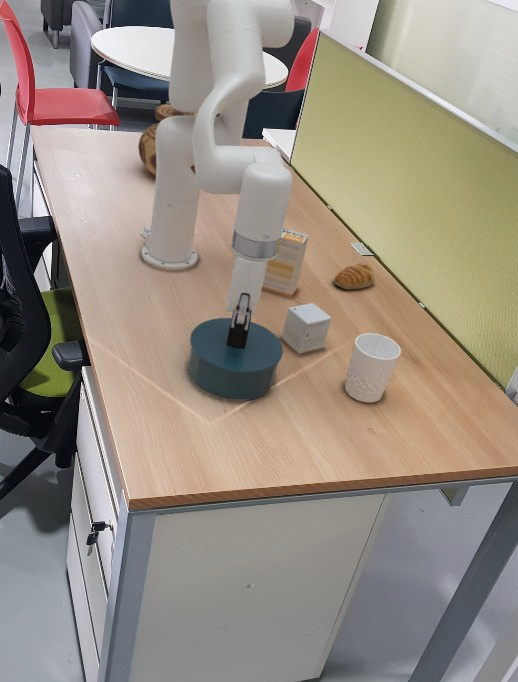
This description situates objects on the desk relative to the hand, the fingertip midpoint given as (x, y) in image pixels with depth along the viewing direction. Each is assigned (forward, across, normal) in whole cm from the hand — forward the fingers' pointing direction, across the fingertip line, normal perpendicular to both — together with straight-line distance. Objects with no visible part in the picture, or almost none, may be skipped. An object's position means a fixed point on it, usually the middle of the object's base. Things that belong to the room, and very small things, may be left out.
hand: (238, 335), depth 129 cm
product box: (+9, -14, +12) cm, 21 cm away
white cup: (+9, -3, +24) cm, 26 cm away
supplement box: (+9, -35, +6) cm, 36 cm away
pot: (+9, 0, 0) cm, 9 cm away
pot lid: (+2, 0, 0) cm, 2 cm away
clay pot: (+9, -89, -27) cm, 93 cm away
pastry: (+9, -44, +23) cm, 50 cm away
